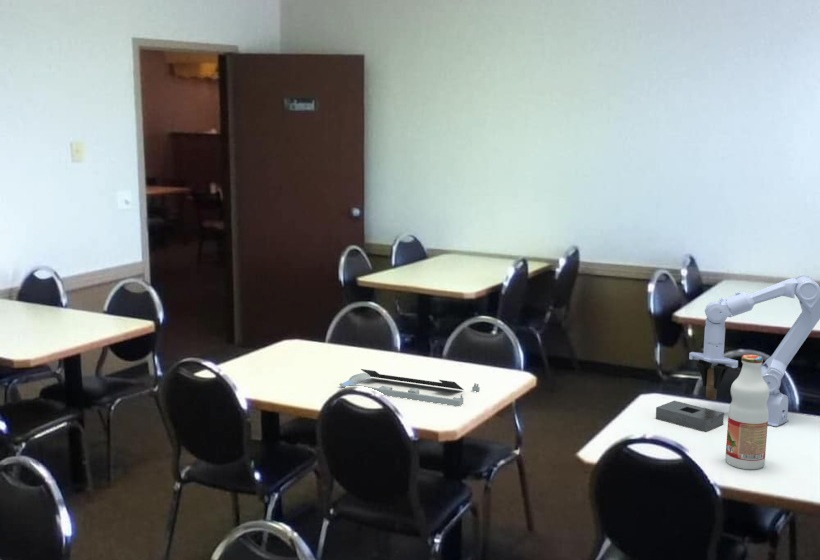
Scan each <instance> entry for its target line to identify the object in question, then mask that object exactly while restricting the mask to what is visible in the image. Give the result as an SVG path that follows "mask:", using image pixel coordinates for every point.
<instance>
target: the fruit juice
mask: <svg viewBox="0 0 820 560" xmlns="http://www.w3.org/2000/svg"><path fill="white" fill-rule="evenodd" d="M763 360H764V359H763V356H761V355H758V354H743V355H741V363H742V366H741V370H740V373H739V375H738V376H737V378H735V380H734V381H733V382H732V383H731V387H730V397H731V402H730V403H729V406H728V413H727V415H728V416H727V430H726V431H727V432H726V445H725V446H726V447H725V461H726V463H727V464H728V465H729V466H731V467H732V466H733V467H734V468H739V469H743V470H758V469H762V468H763V467H764V465H765V462H766V451H767V439H768V438H767V437H768V426H769V425H768V408H767V405H766V404H767V400H768V398H769V387H768V385H767V384H766V382H765V381H764V379H763V376H762V372H761V365H763V363H764V361H763Z"/></svg>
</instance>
